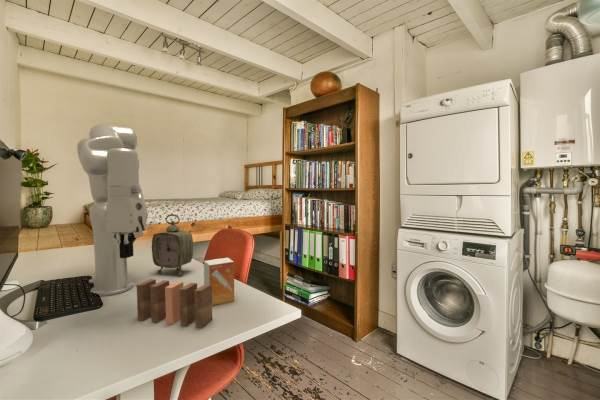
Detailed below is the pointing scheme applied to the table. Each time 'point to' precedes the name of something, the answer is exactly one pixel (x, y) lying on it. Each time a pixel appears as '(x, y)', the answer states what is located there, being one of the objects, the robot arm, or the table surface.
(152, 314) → the domino
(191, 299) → the domino
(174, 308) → the domino
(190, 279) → the table surface
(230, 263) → the small box
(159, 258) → the tabletop clock
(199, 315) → the domino
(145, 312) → the domino
